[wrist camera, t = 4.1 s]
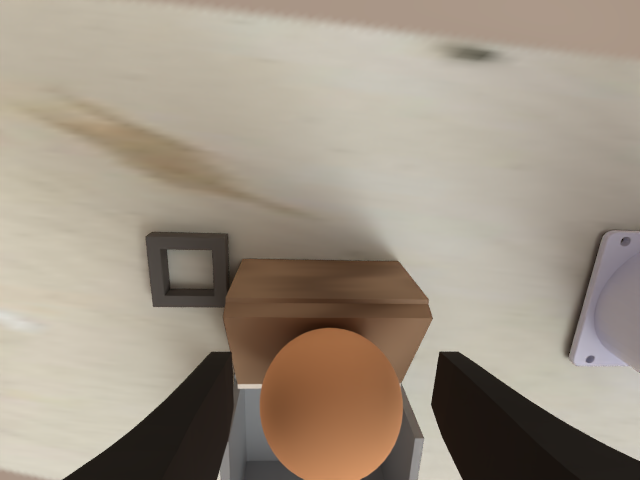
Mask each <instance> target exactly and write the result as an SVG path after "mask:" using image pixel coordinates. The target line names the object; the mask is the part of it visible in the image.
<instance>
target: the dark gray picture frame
mask: <svg viewBox="0 0 640 480" xmlns="http://www.w3.org/2000/svg"><path fill="white" fill-rule="evenodd" d="M146 246H147V256H148V265H149V274H150V284H151V293H152V302H153V307H225V304H226V296H227V293H228V291H229V289H230V281H229V254H228V234H221V233H174V232H152V233H150V234H149V235H147V236H146ZM167 249H176V250H212V258H213V278H214V289H170V282H169V271H168V260H167Z"/></svg>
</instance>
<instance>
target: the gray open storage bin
mask: <svg viewBox="0 0 640 480" xmlns="http://www.w3.org/2000/svg"><path fill="white" fill-rule="evenodd" d="M400 388H401V392H402V399H403V415H402V423H401V428H400V432H399V435H398V437H397V440H396V443H395V445H394V447H393V448H392V450H391V452H390V454H389V455H388V456H387V458H386V459H385V461H384V462H383V463H382V464H381V465H380V466H379V467H378V468H377V469H376V470H374V471H373V472H372V473H370V474H369V475H368V476H366V477H364V478H362V479H360V480H418V474H419V468H420V462H421V455H422V449H423V442H424V437H423V434H422V432H421V430H420V427H419V425H418V422H417V420H416V418H415V415H414V413H413V410H412V408H411V405H410V403H409V401H408V398H407V396H406V393H405V391H404V388H403V386H402V384H401V387H400ZM260 394H261V388H260V389H238V384H237V379H236V375H235V373H234V385H233V397H234V409H233V415H232V421H231V427H230V432H229V438H228V442H227V446H226V449H225V453H224V456H223V460H222V463H221V467H220V475H221V480H304V479H302V478H300V477H298V476H297V475H295V474H294V473H292V472H291V471H290V470H288V469H287V468H286V467H285V466H284V465H283V464H282V463H281V462H280V461H279V459H278V458H277V457H276V455H275V454H274V453H273V451H272V449H271V448H270V446H269V444H268V442H267V440H266V437H265V435H264V432H263V428H262V424H261V418H260Z"/></svg>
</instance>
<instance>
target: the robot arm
mask: <svg viewBox="0 0 640 480" xmlns="http://www.w3.org/2000/svg"><path fill="white" fill-rule="evenodd" d="M623 238H624V240H623V242H622V243H621V240H622V239H623ZM569 360H570V361H571V362H572V363H573V364H574V365H576V366H631V367H632V368H633V369H635V370H636V371H638V372H639V373H640V231H622V230H612V231H609V232H607V233H605V235H604V236H603V237H602V240H601V243H600V247H599V250H598V254H597V258H596V261H595V265H594V268H593V272H592V275H591V279H590V282H589V286H588V290H587V293H586V297H585V300H584V304H583V307H582V311H581V315H580V318H579V322H578V325H577V329H576V332H575V336H574V340H573V343H572V347H571V350H570V354H569ZM431 406H432V409H433V412H434V415H435V418H436V421H437V424H438V427H439V430H440V432H441V435H442V438H443V440H444V442H445V444H446V446H447V448H448V450H449V452H450V454H451V457H452V459H453V461H454V463H455V465H456V467H457V469H458V471H459V473H460V475H461V477H462V479H463V480H640V461H638V460H636V459H634V458H632V457H630V456H627V455H625V454H623V453H621V452H619V451H617V450H615V449H613V448H611V447H609V446H607V445H605V444H603V443H601V442H599V441H597V440H596V439H594V438H592V437H590V436H588V435H587V434H585V433H583V432H581V431H579V430H578V429H576V428H574V427H572V426H570V425H569V424H567V423H565V422H563V421H562V420H560V419H558V418H557V417H555V416H553V415H552V414H550V413H549V412H547V411H545V410H544V409H542V408H541V407H539V406H537V405H536V404H534V403H533V402H531V401H530V400H528V399H527V398H525V397H524V396H522V395H521V394H519V393H518V392H516V391H515V390H513V389H512V388H510V387H509V386H507V385H506V384H504V383H503V382H502V381H500V380H499V379H497V378H496V377H494V376H493V375H492V374H490V373H489V372H487V371H486V370H485V369H483V368H482V367H480V366H479V365H477V364H476V363H475V362H473V361H472V360H470V359H469V358H467V357H466V356H464V355H463V354H461V353H459V352H439V358H438V364H437V370H436V377H435V383H434V389H433V396H432V402H431ZM233 409H234V397H233V371H232V352H211V353H210V354H209V355H208V356H207V357H206V358H205V359H204V360H203V361H202V362H201V363H200V365H199V366H198V367H197V368H196V369H195V370H194V371H193V372H192V373H191V374H190V375H189V376H188V377H187V378H186V380H185V381H184V382H183V383H182V384H181V385H180V386H179V387H178V388H177V389H176V390H175V391H174V392H173V393H172V394H171V395H170V396H169V397H168V398H167V399H166V400H165V401H163V402H162V403H161V404H160V405H159V406H158V407H157V408H156V409H155V410H154V411H153V412H151V413H150V414H149V415H148V416H147V417H146V418H145V419H144V420H143V421H141V422H140V423H139V424H138V425H137V426H136V427H134V428H133V429H132V430H131V431H130V432H128V433H127V434H126V435H125V436H123V437H122V438H121V439H119V440H118V441H117V442H116V443H114V444H113V445H112V446H110V447H109V448H108V449H106V450H105V451H104V452H102V453H101V454H99V455H98V456H96V457H95V458H93V459H92V460H91V461H89V462H88V463H86V464H85V465H83V466H82V467H80V468H79V469H77V470H76V471H75V472H73V473H72V474H70V475H69V476H67V477H66V478H64V479H63V480H217V477H218V474H219V470H220V467H221V463H222V460H223V456H224V453H225V449H226V446H227V442H228V438H229V432H230V427H231V421H232V415H233Z"/></svg>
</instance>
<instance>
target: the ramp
mask: <svg viewBox="0 0 640 480" xmlns="http://www.w3.org/2000/svg"><path fill="white" fill-rule="evenodd" d="M428 303H429V299H428V298H427V297H426V295H425V294H424V293H423V292H422V290H421V289H420V288H419V286H418V285H417V284H416V283H415V281H414V280H413V279H412V277H411V276H410V275H409V274H408V272H407V271H406V270H405V269H404V267H403V266H402V265H401V263H400V262H399V261H343V260H284V259H242V262H241V264H240V266H239V268H238V271H237V273H236V275H235V277H234V280H233V282H232V284H231V286H230V289H229V291H228V293H227V296H226V304H225V309H224V314H223V320H224V325H225V329H226V334H227V338H228V343H229V347H230V352H232V361H233V366H234V370H235V375H236V379H237V384H238V389H260V388H262V384H263V380H264V377H265V375H266V372H267V370H268V368H269V366H270V364H271V362H272V361H273V359H274V358H275V356H276V355H277V354H278V353H279V352H280V350H281V349H282V348H283V347H284V346H285V345H287V344H288V343H289V342H290V341H292V340H293V339H295V338H296V337H298V336H300V335H302V334H304V333H306V332H309V331H312V330H316V329H322V328H339V329H345V330H348V331H352V332H355V333H357V334H359V335H361V336H363V337H365V338H366V339H368V340H369V341H371V342H372V343H373V344H374V345H376V346H377V347H378V348H379V349H380V350H381V351H382V352H383V354H384V355H385V356H386V357H387V359H388V360H389V362H390V363H391V365H392V367H393V369H394V370H395V373H396V375H397V378H398V380H399V384H400V387H401V382H402V380H403V378H404V376H405V374H406V372H407V370H408V368H409V366H410V364H411V362H412V360H413V358H414V356H415V354H416V352H417V350H418V348H419V346H420V343H421V341H422V339H423V337H424V335H425V333H426V331H427V329H428V327H429V325H430V323H431V321H432V319H433V318H432V314H431V311H430V308H429V305H428Z"/></svg>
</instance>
